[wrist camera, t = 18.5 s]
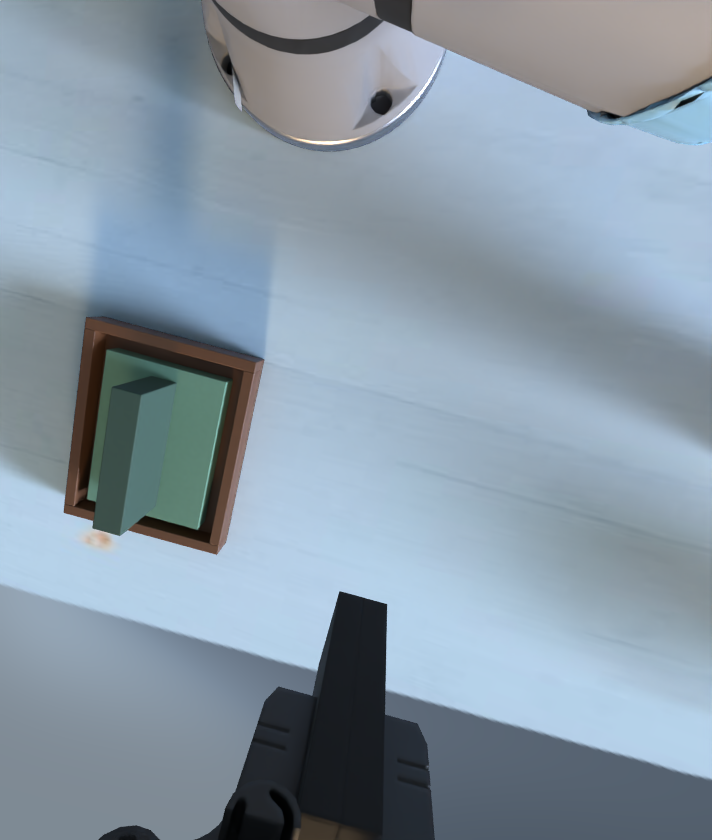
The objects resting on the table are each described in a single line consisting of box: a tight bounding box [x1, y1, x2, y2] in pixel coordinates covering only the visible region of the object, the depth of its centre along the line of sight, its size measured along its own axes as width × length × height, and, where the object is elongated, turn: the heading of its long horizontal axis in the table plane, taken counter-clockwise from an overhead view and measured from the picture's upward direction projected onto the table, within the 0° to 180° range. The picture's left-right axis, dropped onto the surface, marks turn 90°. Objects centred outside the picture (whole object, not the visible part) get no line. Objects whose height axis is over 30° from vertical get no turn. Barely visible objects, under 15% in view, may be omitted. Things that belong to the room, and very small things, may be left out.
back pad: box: [87, 348, 233, 536], centre depth 34 cm, size 12×9×6 cm
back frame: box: [64, 316, 264, 555], centre depth 37 cm, size 16×13×2 cm
